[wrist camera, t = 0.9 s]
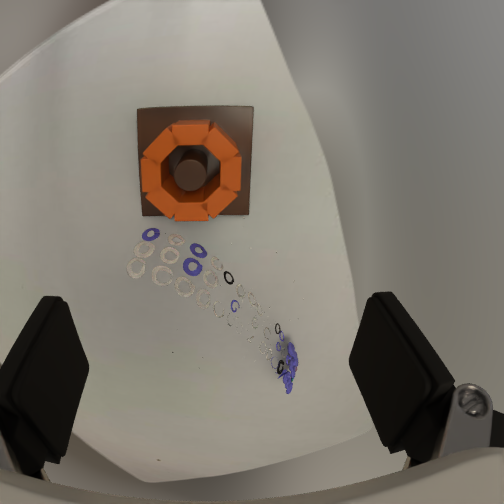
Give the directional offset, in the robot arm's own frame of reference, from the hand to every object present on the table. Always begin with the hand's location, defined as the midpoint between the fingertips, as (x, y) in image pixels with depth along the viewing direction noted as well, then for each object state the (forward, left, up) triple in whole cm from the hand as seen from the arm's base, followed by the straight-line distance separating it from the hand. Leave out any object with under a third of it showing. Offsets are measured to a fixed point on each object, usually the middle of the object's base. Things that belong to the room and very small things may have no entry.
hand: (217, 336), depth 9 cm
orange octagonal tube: (-1, -2, -18) cm, 18 cm away
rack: (-1, -2, -19) cm, 19 cm away
